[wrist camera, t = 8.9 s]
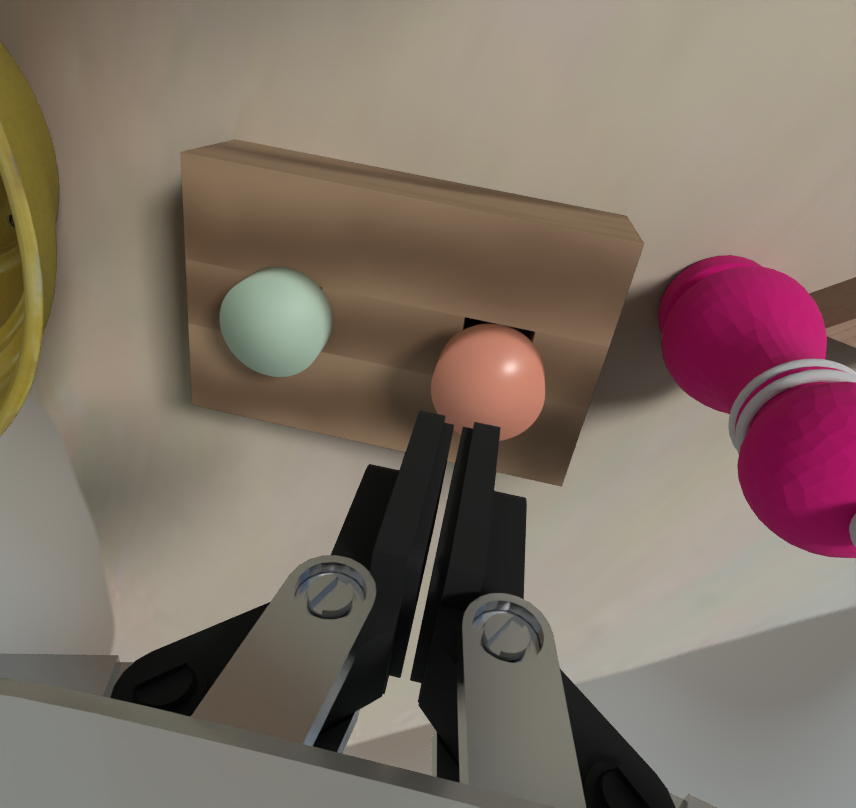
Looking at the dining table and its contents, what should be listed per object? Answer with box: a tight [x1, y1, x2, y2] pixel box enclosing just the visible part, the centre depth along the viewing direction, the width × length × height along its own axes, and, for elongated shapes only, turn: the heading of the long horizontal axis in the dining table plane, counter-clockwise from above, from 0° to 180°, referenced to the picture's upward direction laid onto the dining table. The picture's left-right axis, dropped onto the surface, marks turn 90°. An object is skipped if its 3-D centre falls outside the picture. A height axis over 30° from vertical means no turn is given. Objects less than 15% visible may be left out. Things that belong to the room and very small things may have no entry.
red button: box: [431, 320, 545, 441], centre depth 31 cm, size 5×5×8 cm
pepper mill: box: [658, 255, 856, 558], centre depth 25 cm, size 7×7×20 cm
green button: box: [220, 266, 333, 377], centre depth 33 cm, size 5×5×8 cm
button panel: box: [181, 140, 644, 486], centre depth 34 cm, size 14×22×6 cm, turn 81°
